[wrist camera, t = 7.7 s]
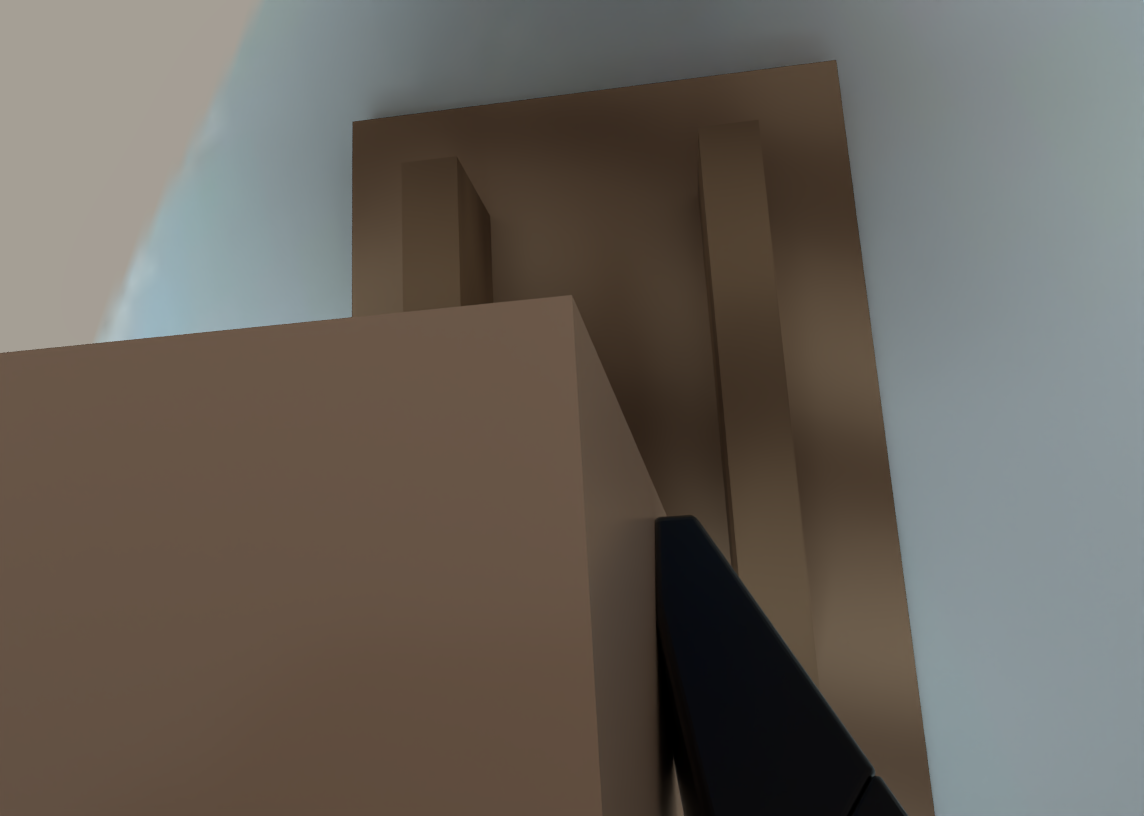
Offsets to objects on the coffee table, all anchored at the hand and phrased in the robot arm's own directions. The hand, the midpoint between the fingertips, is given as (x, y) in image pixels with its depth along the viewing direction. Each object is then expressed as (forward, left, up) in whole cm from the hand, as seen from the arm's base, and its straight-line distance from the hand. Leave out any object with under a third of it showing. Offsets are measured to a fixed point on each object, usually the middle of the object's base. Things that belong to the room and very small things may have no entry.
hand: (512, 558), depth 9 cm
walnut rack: (+3, -1, -11) cm, 12 cm away
